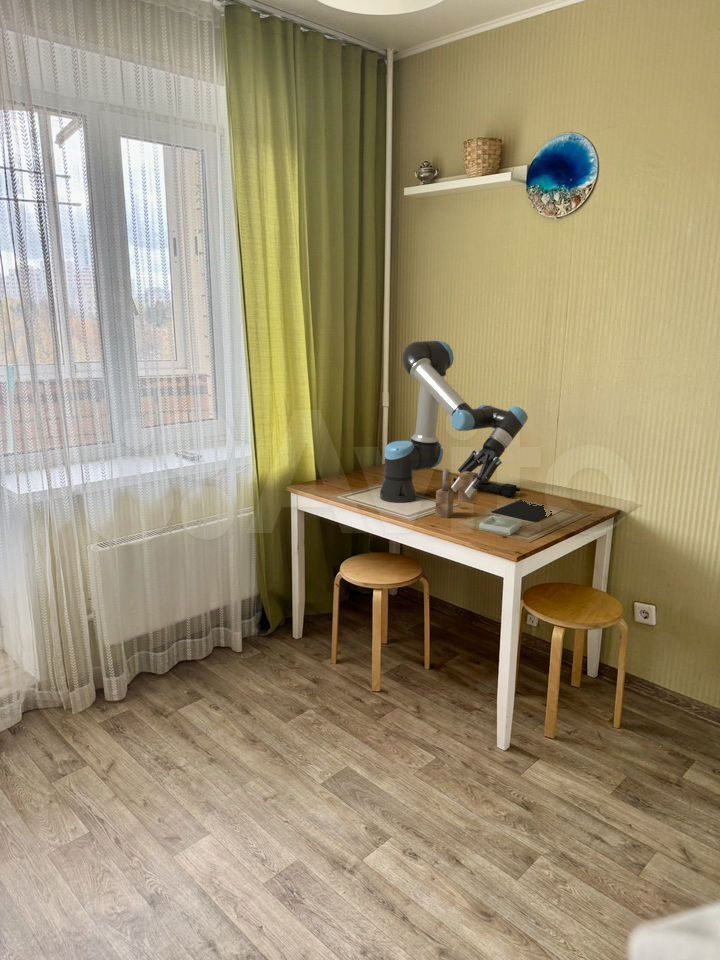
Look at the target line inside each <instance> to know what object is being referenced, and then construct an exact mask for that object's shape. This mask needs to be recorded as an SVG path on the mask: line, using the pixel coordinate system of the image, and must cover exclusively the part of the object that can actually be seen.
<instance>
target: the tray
mask: <svg viewBox="0 0 720 960" xmlns="http://www.w3.org/2000/svg"><path fill="white" fill-rule="evenodd" d="M478 524H479V526H478V527H479V528H478V529H479V530H480V531H484V532H485V531H486V532H488V533H495V534H499V535H500V534H501V535H506V536H511V535H513V534H514V533H516V532H517V531H518V530H519V529H521V528H522V520H518V519H513V518H509V517H503V516H501V517H500V516H498V515H490V516H489V517H487V518H485V519H483V520H482V521H481V522H479V523H478ZM520 527H521V528H520Z"/></svg>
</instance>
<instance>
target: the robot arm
mask: <svg viewBox="0 0 720 960" xmlns="http://www.w3.org/2000/svg"><path fill="white" fill-rule="evenodd" d="M401 356H402V357H401V360H402V361H401V362H402V365H403V368H404V369H405V371H406V373H407V374H408V375H409V376H410V377H411V378H412V379H414V380H415V379H416V380H417V381H418V382H419V394H418V402H417V403H418V404H417V414H416V425H415V433H414V434H413V435H412V436H411V439H410V441H409V440H396V441H392V442H389V443H388V444H387V445H386V447H385V448H384V449H385V450H384V451H385V453H384V479H383V482H382V486H381V488H380V491H379V499H380V500H382V501H386V502H390V503H391V502H392V503H408V502H412V501H414V500H416V499H417V492H416V489H415V485H414V482H413V473H414V472H417V471H423V470H430V469H433V468H435V467H437V466H438V465H440V463H441V462H442V460H443V456H444V450H443V448H442V447H443V446H442V445H441V443H440V442H439V441H440V439H439V438H438V436H437V427H438V426H437V425H438V416H439V408H440V407H439V406H441V407H442V408H443V409H444V410H445V411H446V412H447V414H448V415H449V416H451V419H450V420H451V424H452V427H453V428H454V430H456V431H459V432H468V431H474V430H481V429H488V428H492V429H494V430H493V431H492V432H491V434H489V437H488V438H487V439H486V440H485V441H484V443H483V444H482V449H481V450H479V451H476V450H472V452H471V454H470V455H469V457H467V459H466V460H465V461H464V462H463V463H462V465H461V466H459V468H458V469H457V471H458V472H459V475H458V476H457V477H456V478H457V479H456V481H455V482H454V483H453V484H452V486H451V487H450V488H451V490H454V493H457V492H458V491H459V476H460V473H462V472H464V471H468V472H474V470H476V469H477V468H478V467H480V466H481V469H480V470H479V472H478V476H477V479H478V480H477V479H476V478H475V479H474V480H473V482H472V483H471V484H470V486H469V487H468V488H467V490H466V491H465V494H466V495H467V496H468V497H470V496H471V495H472V493H473V492H474V491H475V489H477V488H478V487H479V486H480V484H481V483H483V482H485V483H487V482H490V479H491V478H492V476H493V474H494V473H495V472H496V470H497V468H498V467H499V466H500V465H501V464H502V461H501V459H500V457H501V456H502V455H503V454H504V452H505V450H506V449H507V448H508V446H509V445H510V444H511V442H512V441H513V440H514V439H515V437H516V435H517V434H518V433H519V432H520V431H521V430H522V429H523V427H524V425H525V424H526V423H527V422H528V421H527V420H528V418H529V416H528V414H527V412H526V411H525V410H524V409H522V408H521V407H519V406H516V405H515V406H512V407H510V409H508V410H503V409H501V408H498V407H495V406H492V405H487V404H481V405H480V406H479V407H476V408H472V407H471V406H470V405H469V404H468V403H467V401H465V399H464V398H462V397H461V395H460V394H459V393H458V392H457V391H456V390H455V389H454V388H453V387H452V386H451V385H450V383H448V382H447V381H446V380H445V377H446V376H447V370H449V369H450V368H451V366H453V364H454V351H453V349H452V347H451V346H450V345H449V344H448V343H447V342H446V341H442V340H426V341H425V340H422V341H419V340H418V341H414V342H411V343H410V344H407V346H406V347H405V348H404V349H403V351H402V355H401ZM477 490H478V489H477Z"/></svg>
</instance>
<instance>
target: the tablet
mask: <svg viewBox="0 0 720 960" xmlns="http://www.w3.org/2000/svg"><path fill="white" fill-rule="evenodd" d="M522 500H523V499H519V500H516V501H514V502H511V503H509V504H506V505H504V506H502V507H499V508H496V509H493V510H491V511H490V514H492V515H495V516H499V517H500V516H501V517H503V518H508V519H514V520H519V521H521V522H522V521H523V522H527V521H528V523H531V522H532V523H531V524H538V523H537V522H539V523H541V522H542V520H543V521H544V519H545V520H546V518H547V519H549V518H551V517H553V516H552V513H551V514H550V515H549V516H548V517H549V518H548V517H547V516H545V515H546V512H545V510H544V507H543V506H544V505H542V506H539V505H537V506H533V505H536V504H531V503H530V504H531V505H529V504H527V503H526V502H525V501H524V502H523V501H522ZM550 512H552V511H550ZM550 516H551V517H550ZM540 521H541V522H540Z"/></svg>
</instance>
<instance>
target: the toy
mask: <svg viewBox="0 0 720 960" xmlns="http://www.w3.org/2000/svg"><path fill="white" fill-rule="evenodd" d="M456 479H457V477H455V478H453V480H452V482H454V483H455V481H456ZM477 490H485V491H486V492H488V493H494V494H500V497H504V498H510V499H512V498H514V497H517V493H519V492H520V491H521V488H520V487H517V485H516V484H511V483H505V484H501V485H500V484H497V483H493V482H490V481H488V482H487V483H485V482H483V483H481V484H480V486H479V487H478V488H477ZM511 497H512V498H511Z"/></svg>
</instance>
